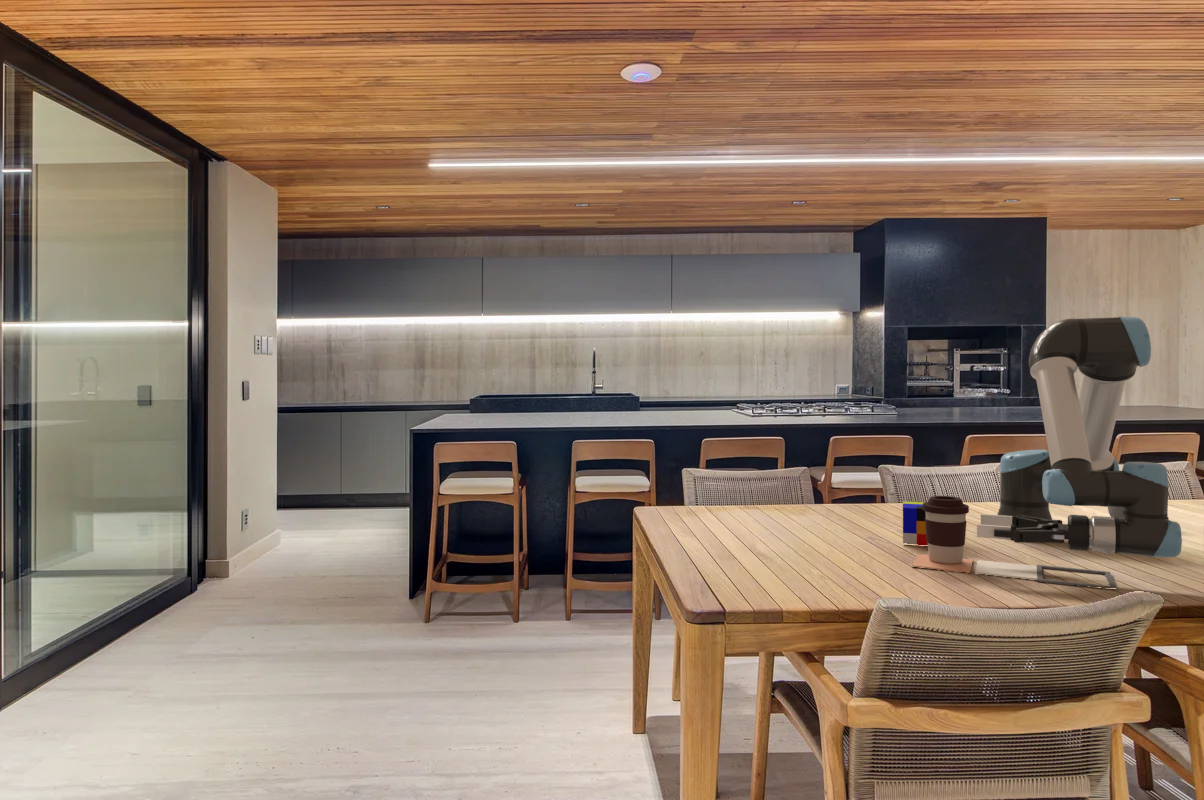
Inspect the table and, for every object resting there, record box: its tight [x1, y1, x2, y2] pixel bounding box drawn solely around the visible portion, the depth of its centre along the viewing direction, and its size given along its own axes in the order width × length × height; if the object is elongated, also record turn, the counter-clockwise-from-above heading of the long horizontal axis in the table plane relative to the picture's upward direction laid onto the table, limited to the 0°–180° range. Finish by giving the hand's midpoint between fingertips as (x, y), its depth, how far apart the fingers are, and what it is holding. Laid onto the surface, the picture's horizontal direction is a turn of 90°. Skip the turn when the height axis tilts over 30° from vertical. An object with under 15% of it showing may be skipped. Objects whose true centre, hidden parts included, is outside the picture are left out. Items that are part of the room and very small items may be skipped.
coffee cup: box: [923, 495, 970, 564], centre depth 174 cm, size 10×10×15 cm
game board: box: [912, 554, 1118, 589], centre depth 167 cm, size 39×14×1 cm, turn 60°
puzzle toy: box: [902, 501, 928, 545], centre depth 196 cm, size 10×10×10 cm
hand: (978, 525), depth 169 cm, fingers open, 13 cm apart
